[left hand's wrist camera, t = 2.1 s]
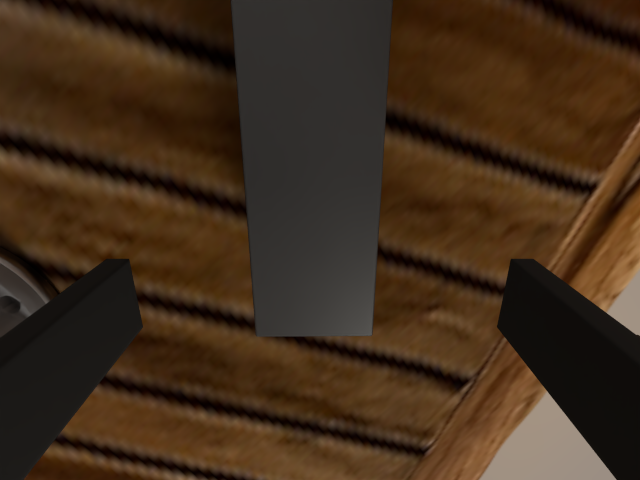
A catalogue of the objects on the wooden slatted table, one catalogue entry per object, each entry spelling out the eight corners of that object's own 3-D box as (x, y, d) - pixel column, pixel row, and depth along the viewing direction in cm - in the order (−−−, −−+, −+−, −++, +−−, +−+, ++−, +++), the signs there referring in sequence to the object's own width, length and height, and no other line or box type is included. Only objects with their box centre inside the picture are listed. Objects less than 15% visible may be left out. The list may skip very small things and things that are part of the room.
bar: (353, 256, 26) (372, 336, 17) (276, 256, 26) (255, 337, 17) (368, -162, 18) (419, -419, 9) (257, -163, 18) (198, -421, 9)
